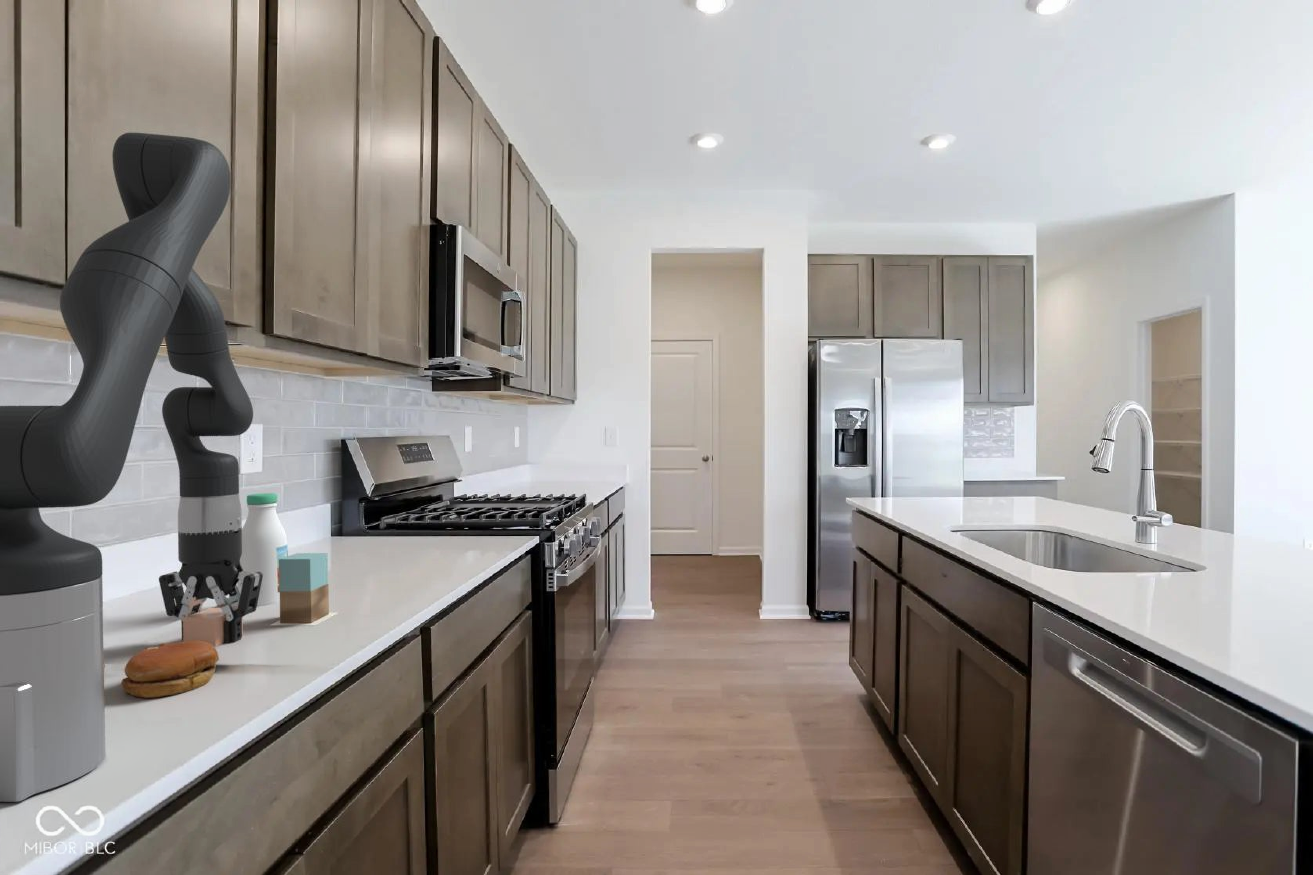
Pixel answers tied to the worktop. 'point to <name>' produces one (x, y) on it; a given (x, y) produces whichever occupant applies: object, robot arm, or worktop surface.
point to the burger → (170, 669)
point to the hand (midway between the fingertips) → (212, 644)
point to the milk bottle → (263, 545)
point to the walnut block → (304, 605)
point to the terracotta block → (205, 626)
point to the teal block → (303, 571)
